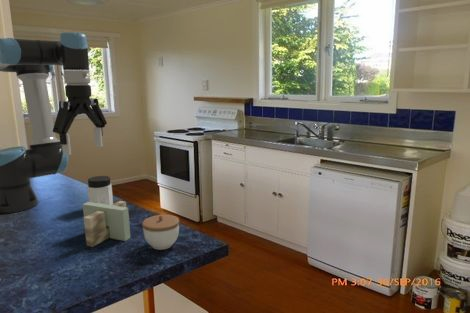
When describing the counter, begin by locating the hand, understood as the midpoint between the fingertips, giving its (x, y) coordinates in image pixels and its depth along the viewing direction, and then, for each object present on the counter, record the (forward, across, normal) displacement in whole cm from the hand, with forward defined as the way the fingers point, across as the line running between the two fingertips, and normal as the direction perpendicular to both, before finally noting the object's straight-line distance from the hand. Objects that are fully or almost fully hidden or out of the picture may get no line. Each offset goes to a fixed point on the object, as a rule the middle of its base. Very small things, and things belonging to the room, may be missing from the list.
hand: (83, 150), depth 119 cm
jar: (+27, +15, +9) cm, 32 cm away
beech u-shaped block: (+26, -5, -12) cm, 29 cm away
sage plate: (+26, -5, -12) cm, 29 cm away
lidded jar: (+26, -4, -32) cm, 41 cm away
